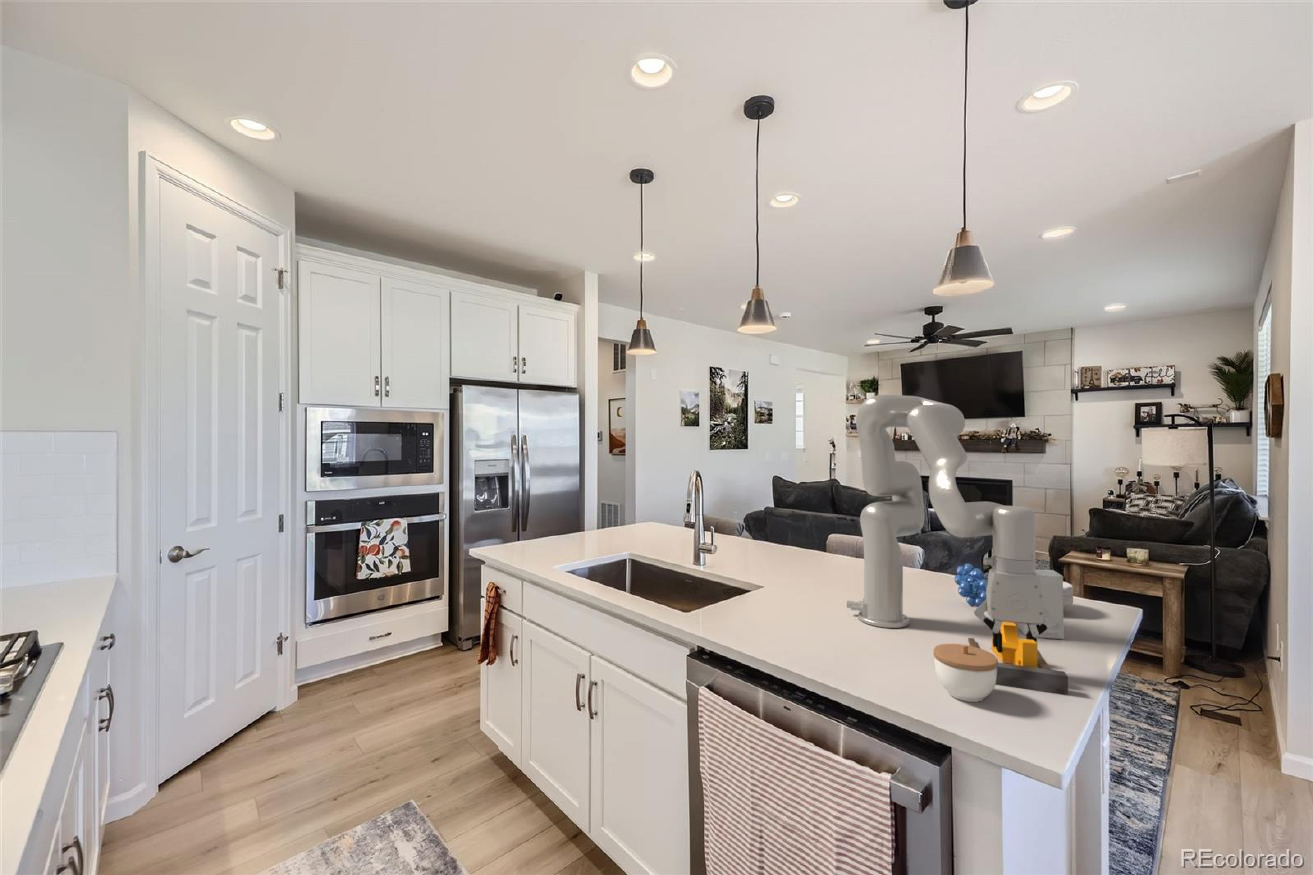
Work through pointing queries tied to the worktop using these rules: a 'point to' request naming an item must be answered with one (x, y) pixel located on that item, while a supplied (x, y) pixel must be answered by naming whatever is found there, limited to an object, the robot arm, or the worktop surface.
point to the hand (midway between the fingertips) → (1014, 651)
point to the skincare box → (1051, 603)
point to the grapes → (971, 584)
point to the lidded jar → (965, 671)
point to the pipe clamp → (1016, 647)
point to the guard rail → (1031, 676)
